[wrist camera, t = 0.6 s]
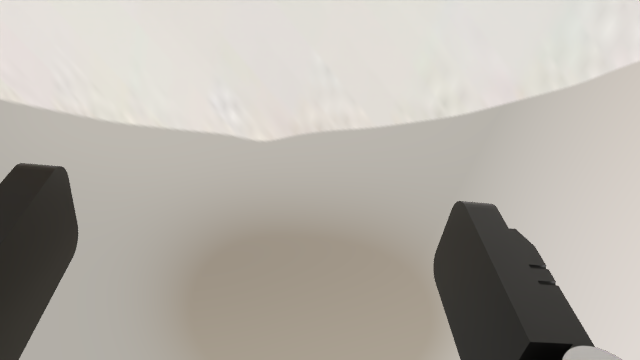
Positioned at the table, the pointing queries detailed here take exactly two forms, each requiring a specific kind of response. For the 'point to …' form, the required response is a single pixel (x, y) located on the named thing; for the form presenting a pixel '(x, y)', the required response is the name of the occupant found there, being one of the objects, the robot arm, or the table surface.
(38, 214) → the robot arm
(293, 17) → the table surface
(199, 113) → the table surface
